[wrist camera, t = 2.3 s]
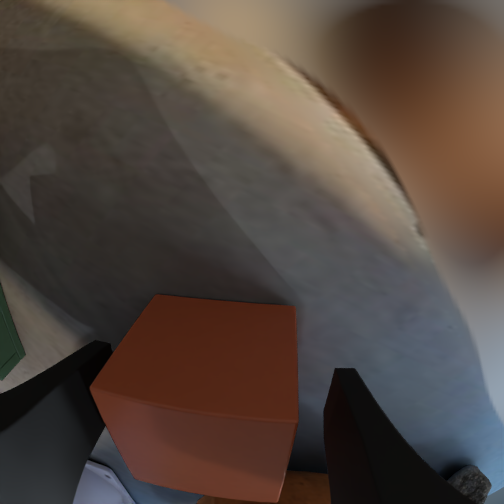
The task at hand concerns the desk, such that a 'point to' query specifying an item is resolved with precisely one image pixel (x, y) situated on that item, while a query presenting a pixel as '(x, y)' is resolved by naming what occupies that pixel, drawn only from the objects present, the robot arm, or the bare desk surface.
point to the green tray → (8, 340)
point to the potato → (290, 490)
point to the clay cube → (205, 396)
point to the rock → (471, 483)
